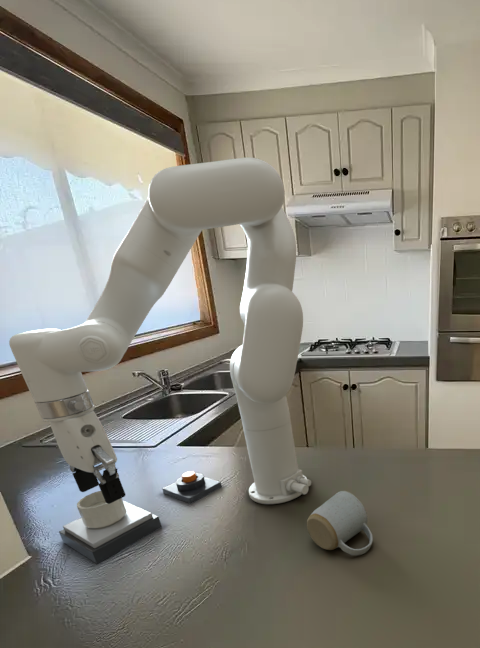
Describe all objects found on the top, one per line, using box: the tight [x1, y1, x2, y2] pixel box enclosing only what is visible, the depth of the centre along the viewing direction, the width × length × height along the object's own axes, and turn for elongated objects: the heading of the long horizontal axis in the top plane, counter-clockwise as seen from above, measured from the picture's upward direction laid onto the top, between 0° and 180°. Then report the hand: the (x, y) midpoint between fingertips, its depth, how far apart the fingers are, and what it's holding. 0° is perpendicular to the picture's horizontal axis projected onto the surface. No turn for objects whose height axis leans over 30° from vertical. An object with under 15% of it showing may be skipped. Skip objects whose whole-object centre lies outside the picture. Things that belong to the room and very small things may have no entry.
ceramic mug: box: [306, 490, 374, 556], centre depth 71 cm, size 11×8×8 cm
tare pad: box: [162, 472, 222, 505], centre depth 94 cm, size 10×8×3 cm
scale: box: [58, 500, 162, 565], centre depth 79 cm, size 13×12×4 cm
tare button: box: [181, 470, 197, 483], centre depth 93 cm, size 3×3×2 cm
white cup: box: [76, 490, 126, 528], centre depth 78 cm, size 7×7×5 cm
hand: (102, 493), depth 77 cm, fingers open, 9 cm apart
